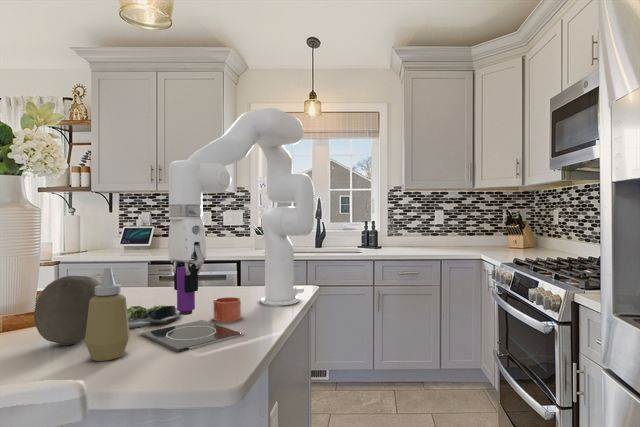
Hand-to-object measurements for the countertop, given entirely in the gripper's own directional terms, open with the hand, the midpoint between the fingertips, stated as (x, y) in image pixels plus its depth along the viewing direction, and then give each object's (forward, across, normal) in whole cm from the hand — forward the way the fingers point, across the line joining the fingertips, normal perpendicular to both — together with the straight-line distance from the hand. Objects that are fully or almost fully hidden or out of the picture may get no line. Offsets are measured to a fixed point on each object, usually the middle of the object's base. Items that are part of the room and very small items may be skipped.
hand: (186, 289), depth 94 cm
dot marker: (+6, 0, 0) cm, 6 cm away
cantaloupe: (+11, +15, +20) cm, 27 cm away
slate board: (+11, 0, -1) cm, 11 cm away
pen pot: (+11, +6, -15) cm, 20 cm away
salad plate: (+11, +21, -1) cm, 24 cm away
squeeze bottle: (+11, -1, +18) cm, 21 cm away
